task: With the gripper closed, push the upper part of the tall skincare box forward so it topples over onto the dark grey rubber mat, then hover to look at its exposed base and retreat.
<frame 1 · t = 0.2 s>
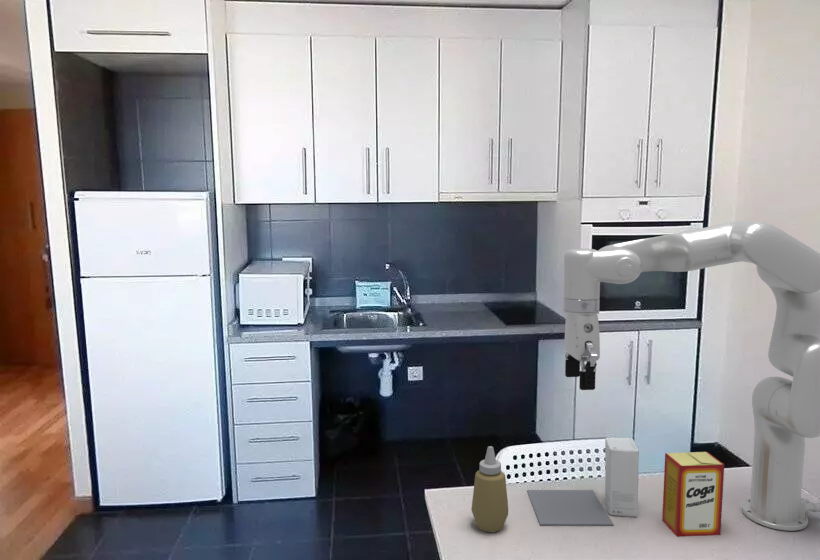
hand: (579, 382, 131), 31 cm above the table, fingers open, 9 cm apart
skincare box: (619, 508, 138), on the table
baking soda box: (690, 528, 129), on the table
mat: (567, 507, 138), on the table
squeeze bottle: (489, 526, 130), on the table
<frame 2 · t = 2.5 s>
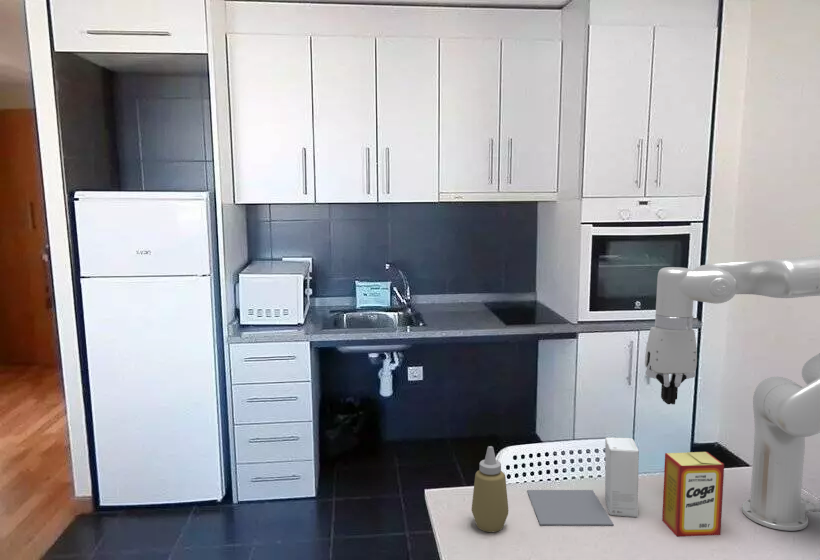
hand: (668, 402, 135), 25 cm above the table, fingers closed
nothing on the table moved.
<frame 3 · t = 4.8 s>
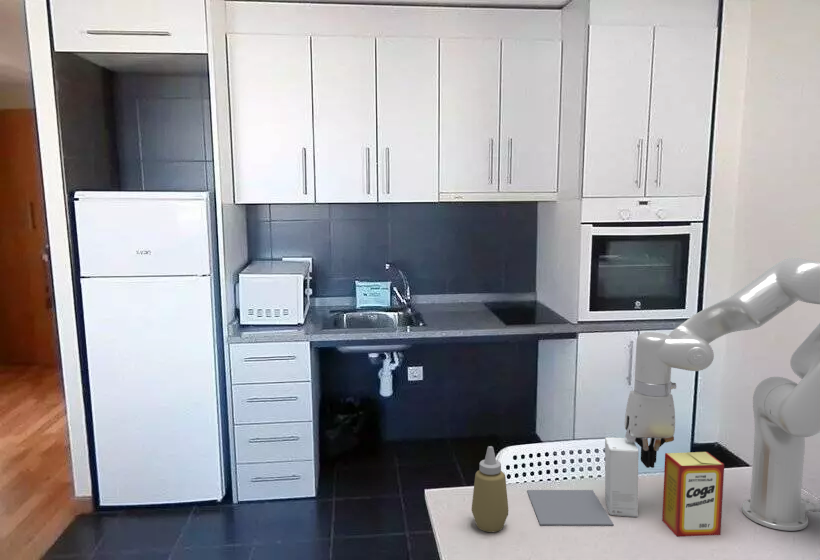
hand: (648, 465, 136), 10 cm above the table, fingers closed
skincare box: (619, 508, 138), on the table, touching gripper
everything else where it was.
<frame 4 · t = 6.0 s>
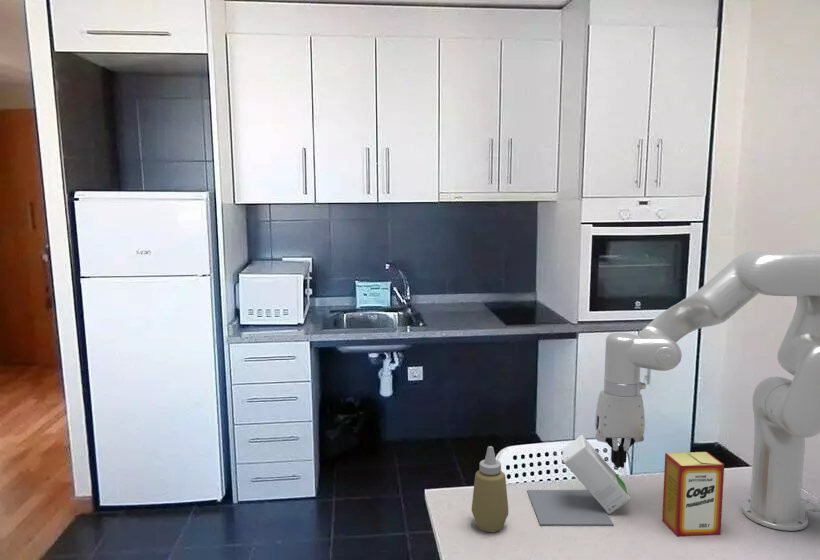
hand: (618, 465, 137), 10 cm above the table, fingers closed
skincare box: (617, 500, 138), point 2 cm above the table
everything else where it was.
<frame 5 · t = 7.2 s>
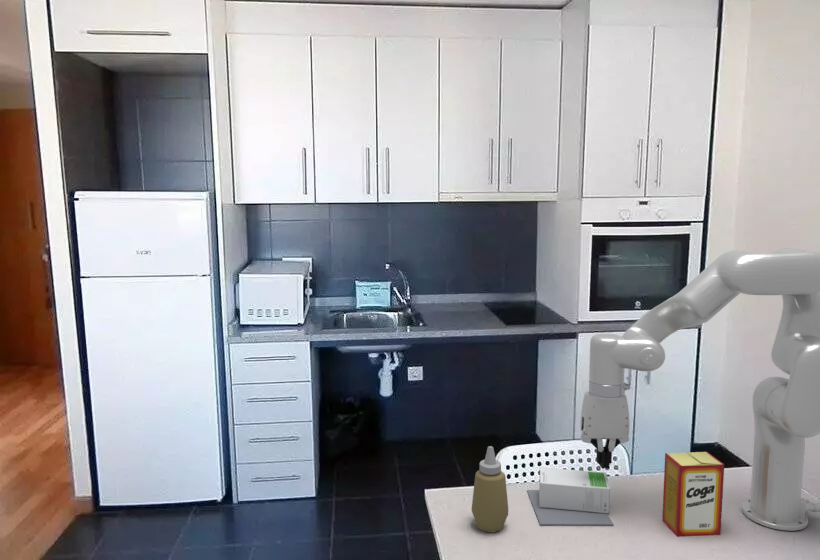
hand: (603, 466, 137), 10 cm above the table, fingers closed
skincare box: (608, 493, 138), point 3 cm above the table, touching mat
everything else where it was.
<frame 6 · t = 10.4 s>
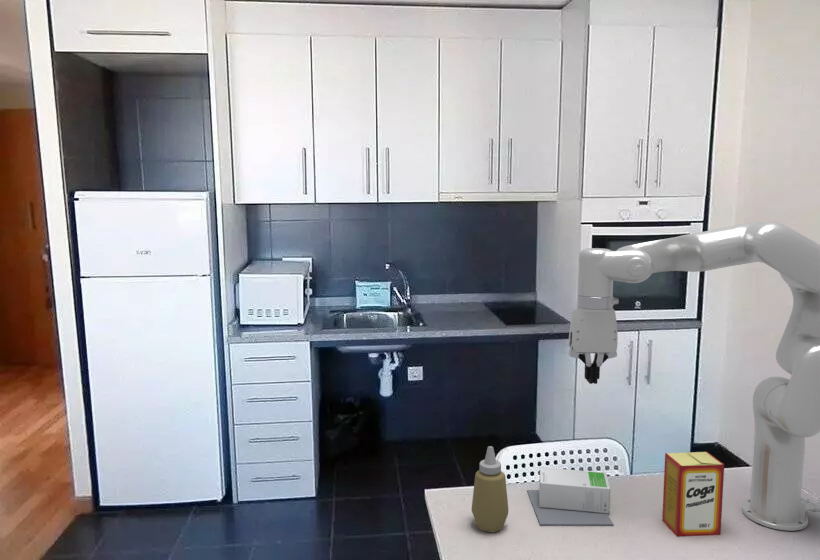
hand: (591, 381, 136), 29 cm above the table, fingers closed
nothing on the table moved.
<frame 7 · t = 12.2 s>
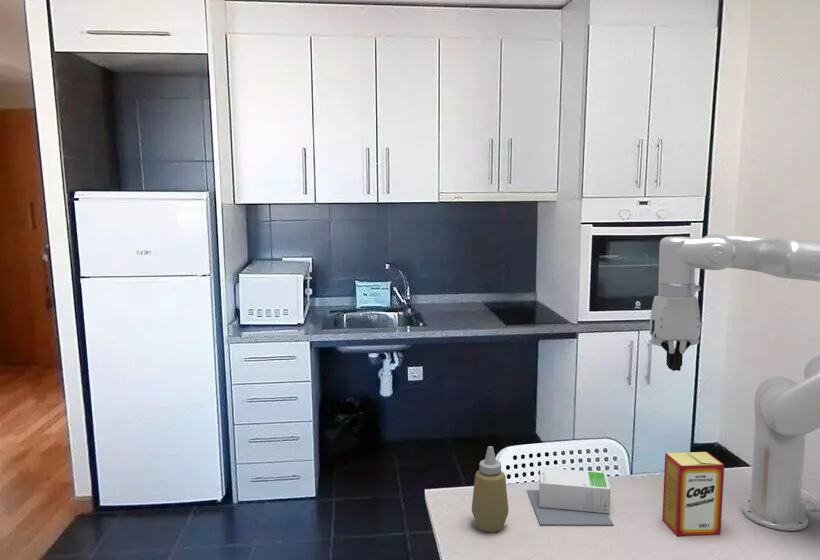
hand: (674, 369, 138), 32 cm above the table, fingers closed
nothing on the table moved.
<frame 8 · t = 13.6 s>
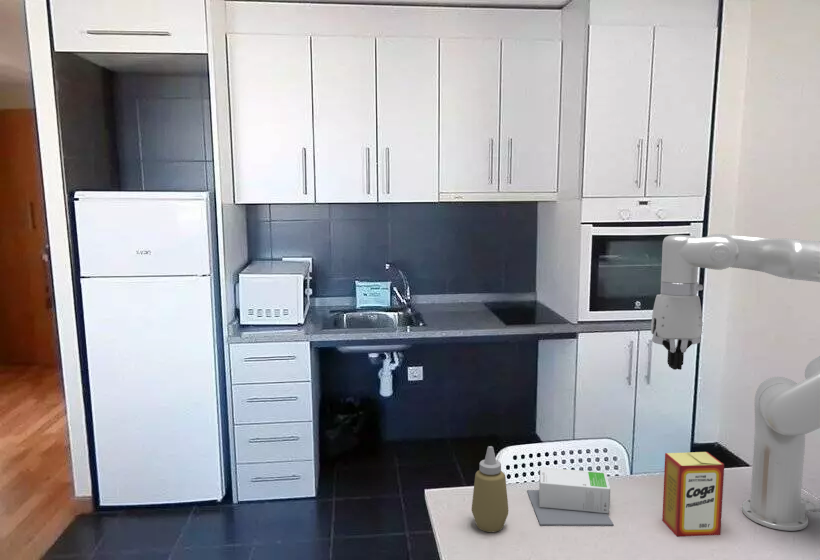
hand: (675, 367, 138), 32 cm above the table, fingers closed
nothing on the table moved.
at the end: skincare box tilted 89°; skincare box inside the target area (5.9 cm from its centre), point 3.5 cm above the table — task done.
